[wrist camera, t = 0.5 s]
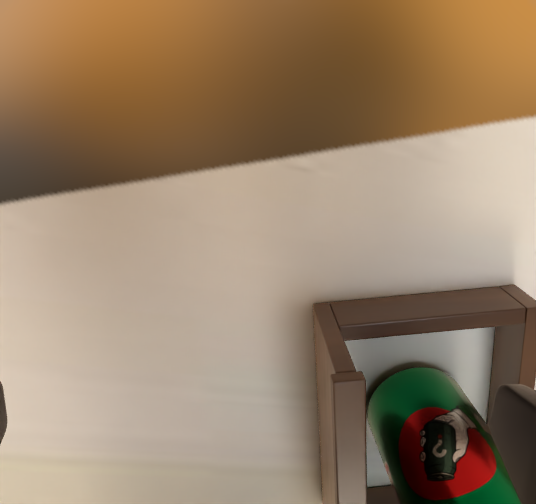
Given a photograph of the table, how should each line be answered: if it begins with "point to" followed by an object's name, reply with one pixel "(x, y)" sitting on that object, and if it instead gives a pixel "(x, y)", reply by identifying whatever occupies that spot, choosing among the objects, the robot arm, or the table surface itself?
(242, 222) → the table surface
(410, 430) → the soda can
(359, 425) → the spice rack
